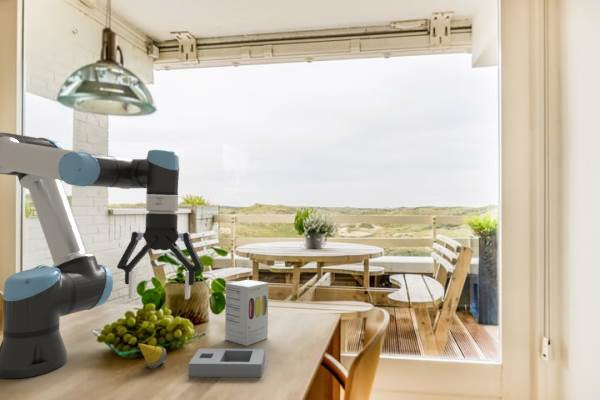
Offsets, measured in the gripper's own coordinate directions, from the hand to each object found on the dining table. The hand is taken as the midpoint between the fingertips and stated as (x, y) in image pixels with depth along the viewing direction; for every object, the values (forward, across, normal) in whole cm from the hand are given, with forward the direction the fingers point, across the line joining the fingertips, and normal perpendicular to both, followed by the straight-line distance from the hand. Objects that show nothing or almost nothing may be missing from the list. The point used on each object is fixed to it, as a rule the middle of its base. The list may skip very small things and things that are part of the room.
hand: (159, 297), depth 102 cm
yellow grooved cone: (+17, -1, -1) cm, 17 cm away
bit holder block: (+16, +18, -2) cm, 24 cm away
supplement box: (+17, +21, +19) cm, 33 cm away
